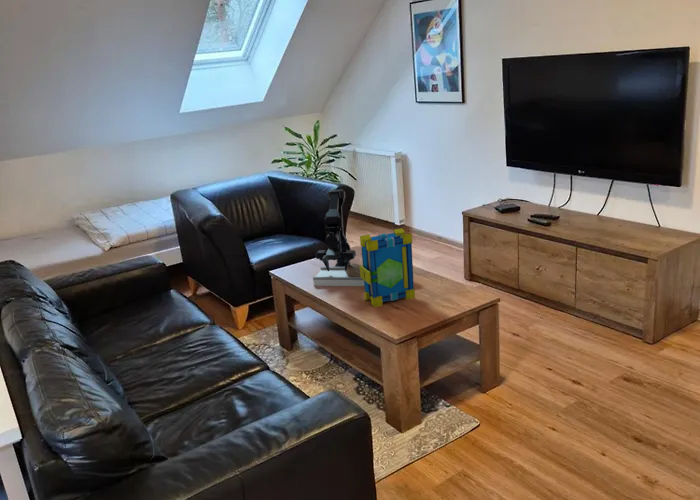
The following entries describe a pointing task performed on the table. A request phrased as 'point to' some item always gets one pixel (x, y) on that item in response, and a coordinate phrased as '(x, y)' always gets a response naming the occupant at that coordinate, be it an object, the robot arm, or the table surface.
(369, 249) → the decorative book
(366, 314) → the table surface
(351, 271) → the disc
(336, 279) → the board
